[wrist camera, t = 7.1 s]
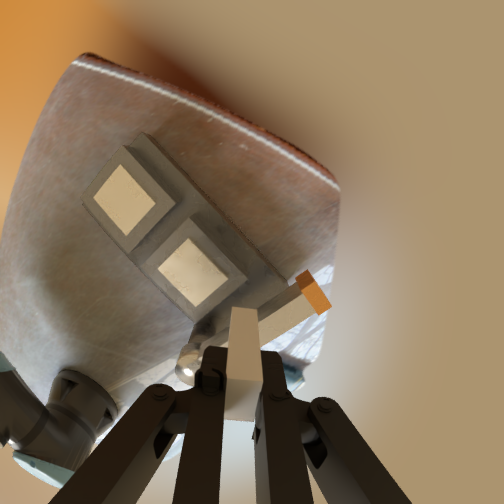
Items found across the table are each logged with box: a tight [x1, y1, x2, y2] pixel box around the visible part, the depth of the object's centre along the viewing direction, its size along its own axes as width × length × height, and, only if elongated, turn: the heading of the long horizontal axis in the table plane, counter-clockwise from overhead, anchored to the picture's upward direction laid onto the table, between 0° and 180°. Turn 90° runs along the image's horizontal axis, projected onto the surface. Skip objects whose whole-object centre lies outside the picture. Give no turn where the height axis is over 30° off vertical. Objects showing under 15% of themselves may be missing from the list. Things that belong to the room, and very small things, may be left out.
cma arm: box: [175, 269, 332, 386], centre depth 27 cm, size 18×4×3 cm, turn 126°
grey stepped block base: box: [81, 132, 289, 344], centre depth 31 cm, size 14×26×8 cm, turn 42°
